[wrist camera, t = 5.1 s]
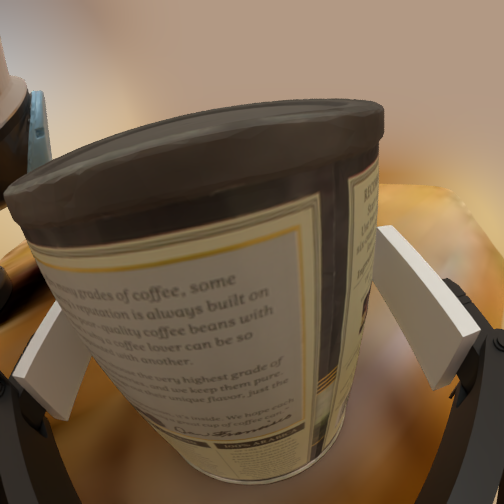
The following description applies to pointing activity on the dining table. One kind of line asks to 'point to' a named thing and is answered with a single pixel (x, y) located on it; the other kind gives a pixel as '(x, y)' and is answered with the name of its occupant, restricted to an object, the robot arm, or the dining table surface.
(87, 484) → the dining table surface
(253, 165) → the coffee can
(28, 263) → the dining table surface
